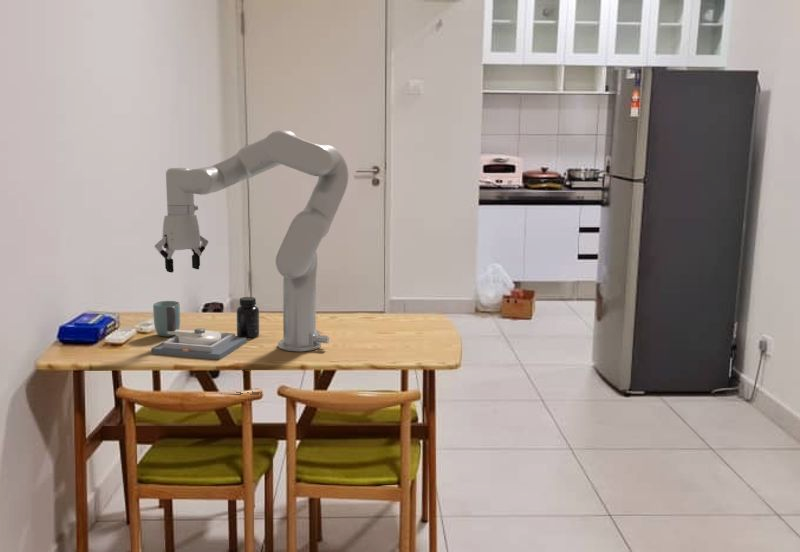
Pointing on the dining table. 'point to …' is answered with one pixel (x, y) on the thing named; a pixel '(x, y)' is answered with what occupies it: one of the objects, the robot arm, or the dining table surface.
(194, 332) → the dial
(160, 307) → the cup
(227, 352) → the board
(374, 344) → the dining table surface
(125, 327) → the dining table surface
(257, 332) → the supplement bottle
